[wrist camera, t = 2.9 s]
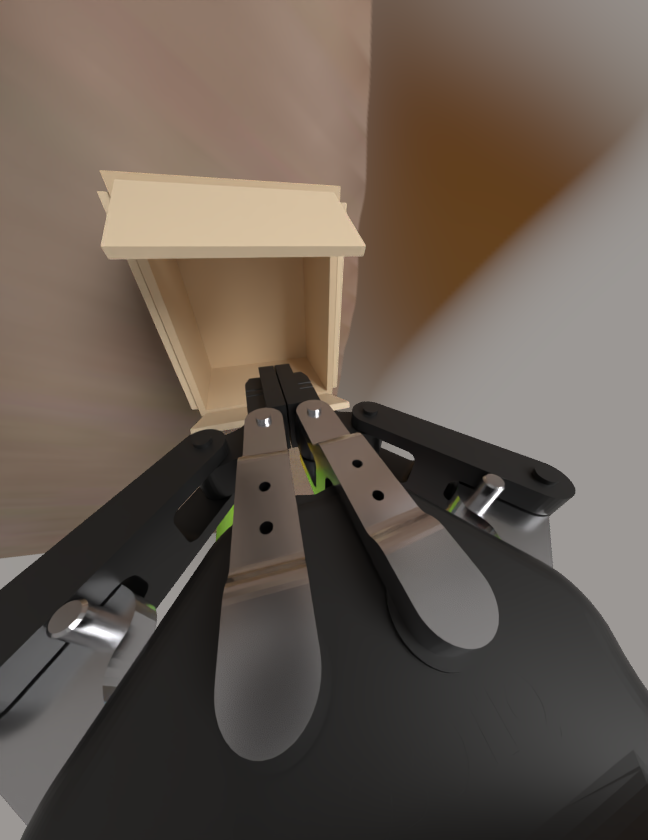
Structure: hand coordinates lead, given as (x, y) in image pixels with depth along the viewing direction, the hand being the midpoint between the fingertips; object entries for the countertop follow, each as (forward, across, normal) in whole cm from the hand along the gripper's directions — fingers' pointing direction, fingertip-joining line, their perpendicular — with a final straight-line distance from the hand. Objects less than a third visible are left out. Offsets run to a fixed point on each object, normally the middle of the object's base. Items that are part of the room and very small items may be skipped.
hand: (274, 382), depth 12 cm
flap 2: (+10, 0, +8) cm, 13 cm away
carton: (+20, 0, 0) cm, 20 cm away
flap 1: (+10, 0, -8) cm, 13 cm away
